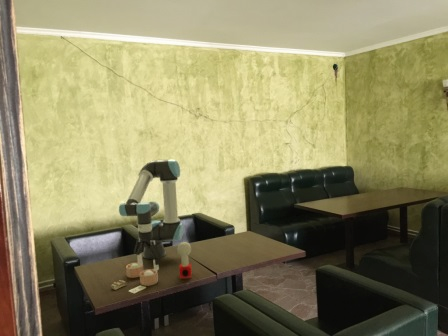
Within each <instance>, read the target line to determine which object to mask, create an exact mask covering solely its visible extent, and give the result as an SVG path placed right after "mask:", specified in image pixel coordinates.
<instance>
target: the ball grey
mask: <svg viewBox="0 0 448 336" xmlns="http://www.w3.org/2000/svg"><path fill="white" fill-rule="evenodd" d="M147 270H148V269H147ZM152 274H154V273H153V272H152V271H150V270H148V271H146V272H145V273H144V275H145V276H146V275H152Z"/></svg>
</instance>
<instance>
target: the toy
mask: <svg viewBox="0 0 448 336" xmlns="http://www.w3.org/2000/svg"><path fill="white" fill-rule="evenodd" d="M176 252H177V254H178V255H179V256H181V257H180V259H181V261H180V262H181V263H180V264H179V279H191V278H192V273H193V272H192V271H193V270H192V263H190V262H189V255H190V253H192V246H191V244H190V243H189V242H187V241H182V242H180V243H179V244H178V245H177V249H176Z"/></svg>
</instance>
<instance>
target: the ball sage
mask: <svg viewBox="0 0 448 336" xmlns="http://www.w3.org/2000/svg"><path fill="white" fill-rule="evenodd" d="M137 267H140V266H138V264H132V265H131V266H130V268H137Z"/></svg>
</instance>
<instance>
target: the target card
mask: <svg viewBox="0 0 448 336" xmlns="http://www.w3.org/2000/svg"><path fill="white" fill-rule="evenodd" d="M146 288H147V286H144V285H141V284H140V285H138V286H136V287H134V288H131V289H129V290H128V293H131V294H136V293H139V292H141V291H143V290H145V289H146Z"/></svg>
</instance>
